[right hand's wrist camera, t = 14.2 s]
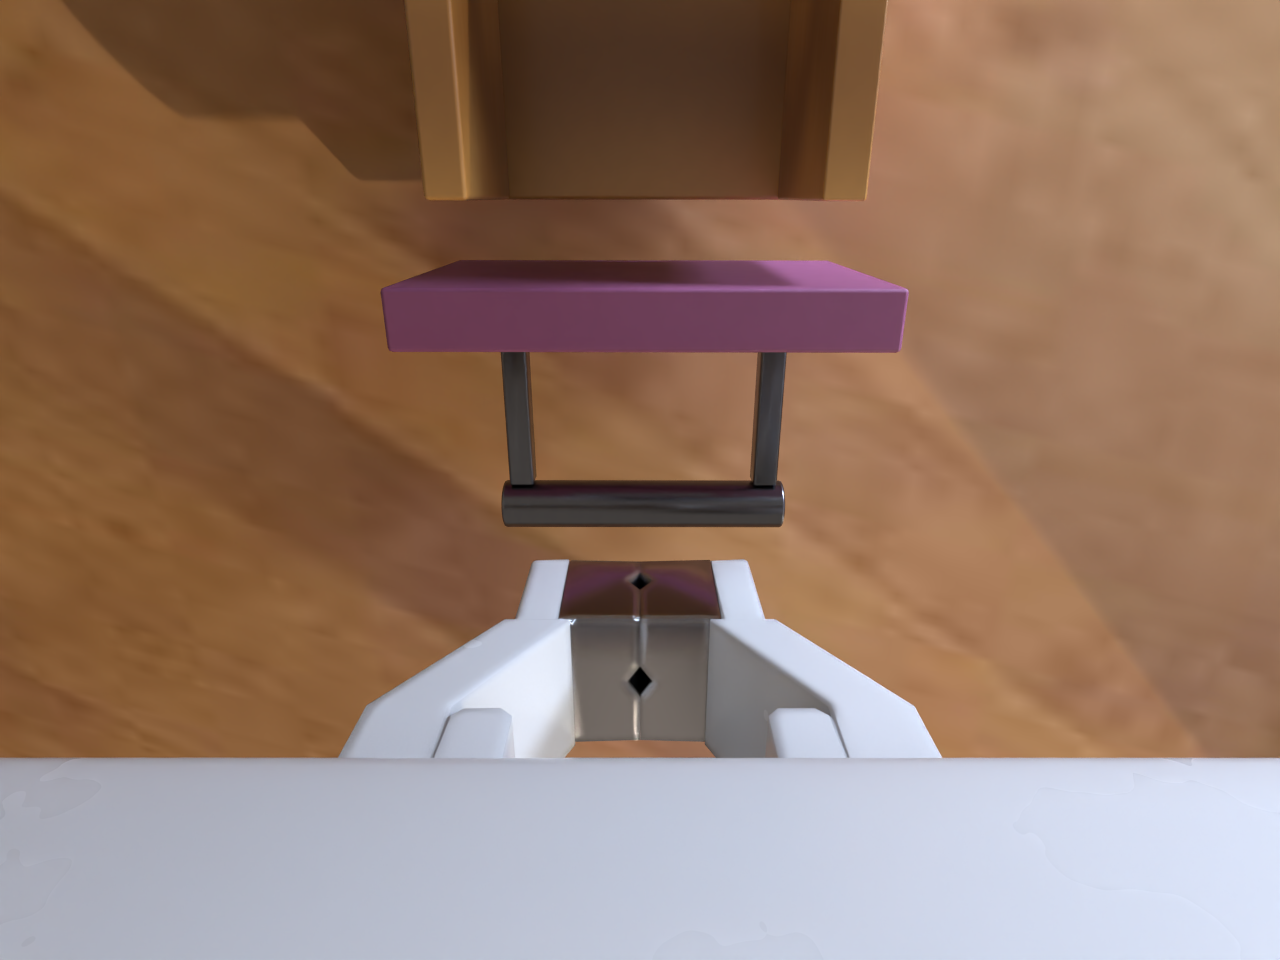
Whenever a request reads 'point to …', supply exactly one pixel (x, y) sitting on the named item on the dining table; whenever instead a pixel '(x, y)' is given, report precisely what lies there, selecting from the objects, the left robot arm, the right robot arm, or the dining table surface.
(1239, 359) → the dining table surface
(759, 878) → the right robot arm
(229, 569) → the dining table surface
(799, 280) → the drawer
